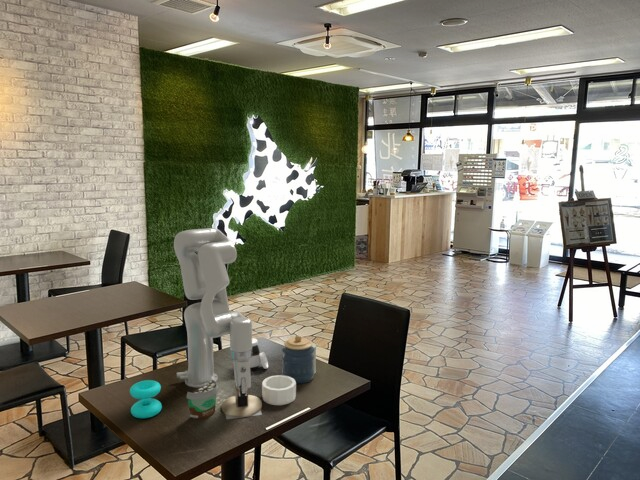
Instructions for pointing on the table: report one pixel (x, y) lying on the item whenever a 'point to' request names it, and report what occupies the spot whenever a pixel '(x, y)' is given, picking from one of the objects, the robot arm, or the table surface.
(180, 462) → the table surface
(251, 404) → the lid
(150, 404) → the donuts
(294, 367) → the canister
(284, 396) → the bowl
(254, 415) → the mat
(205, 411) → the food container
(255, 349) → the spread jar
